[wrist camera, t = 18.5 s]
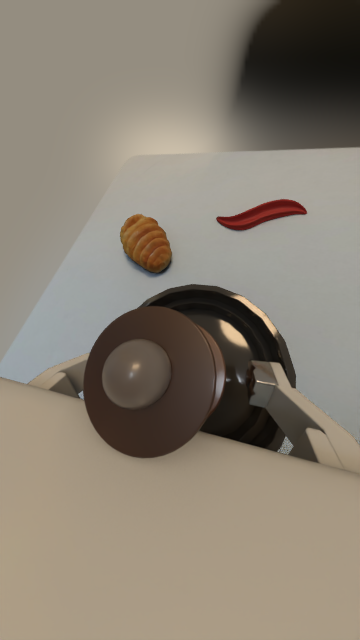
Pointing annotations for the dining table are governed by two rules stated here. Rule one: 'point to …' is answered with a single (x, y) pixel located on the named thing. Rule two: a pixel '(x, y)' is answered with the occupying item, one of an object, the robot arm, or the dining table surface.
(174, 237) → the dining table surface
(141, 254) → the pastry
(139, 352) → the pepper mill
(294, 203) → the cayenne pepper
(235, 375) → the pan
